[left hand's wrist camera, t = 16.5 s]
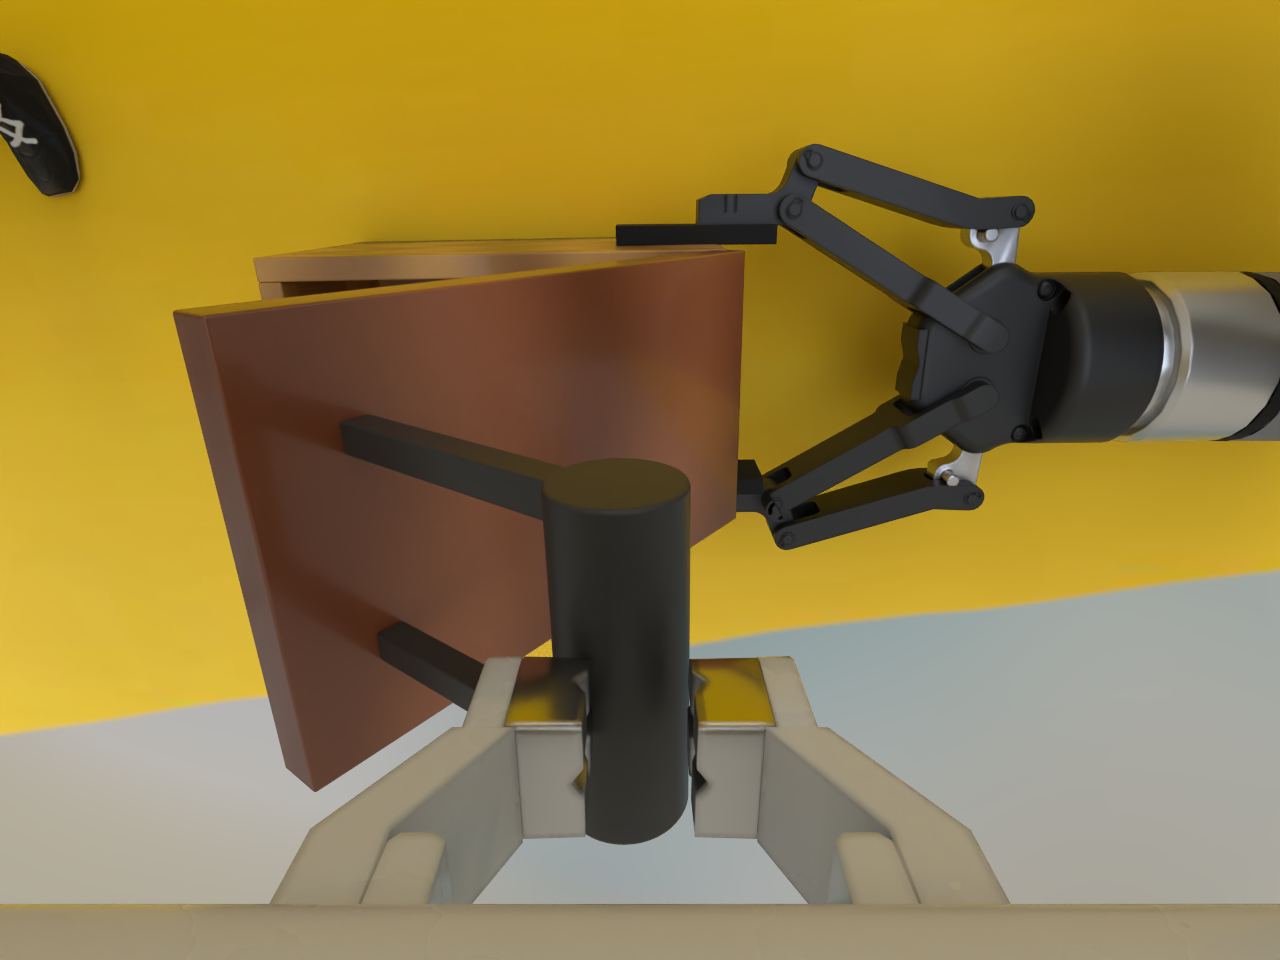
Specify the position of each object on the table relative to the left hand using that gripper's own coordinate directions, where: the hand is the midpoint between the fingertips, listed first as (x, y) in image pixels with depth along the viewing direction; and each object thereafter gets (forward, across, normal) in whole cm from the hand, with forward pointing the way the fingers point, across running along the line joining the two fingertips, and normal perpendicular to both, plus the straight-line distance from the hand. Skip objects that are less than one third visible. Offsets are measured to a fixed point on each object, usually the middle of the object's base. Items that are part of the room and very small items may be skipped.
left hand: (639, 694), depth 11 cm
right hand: (+23, +1, 0) cm, 23 cm away
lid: (+11, +3, 0) cm, 11 cm away
